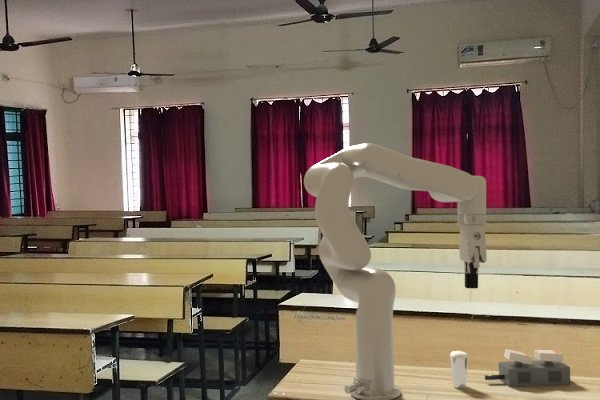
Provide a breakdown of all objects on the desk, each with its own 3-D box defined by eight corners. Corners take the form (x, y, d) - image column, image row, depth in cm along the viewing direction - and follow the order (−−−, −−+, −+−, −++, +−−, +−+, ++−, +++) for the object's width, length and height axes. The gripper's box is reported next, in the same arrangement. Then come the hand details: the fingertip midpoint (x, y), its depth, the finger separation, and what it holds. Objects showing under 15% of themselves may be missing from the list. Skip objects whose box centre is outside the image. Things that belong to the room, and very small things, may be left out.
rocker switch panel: (490, 387, 153) (490, 367, 153) (481, 379, 161) (480, 359, 161) (570, 384, 154) (570, 364, 154) (557, 376, 161) (557, 356, 161)
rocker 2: (539, 360, 156) (540, 352, 156) (534, 357, 159) (534, 349, 159) (562, 361, 156) (562, 353, 156) (556, 358, 160) (556, 350, 160)
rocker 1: (509, 359, 156) (510, 352, 156) (503, 356, 159) (505, 348, 159) (531, 364, 156) (532, 356, 156) (525, 360, 159) (527, 353, 159)
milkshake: (472, 389, 152) (471, 350, 152) (450, 388, 153) (449, 349, 153) (471, 384, 157) (470, 346, 157) (450, 383, 158) (449, 345, 158)
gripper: (494, 221, 157) (494, 291, 157) (477, 220, 172) (476, 284, 172) (465, 221, 157) (465, 291, 157) (450, 220, 172) (450, 284, 172)
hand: (471, 287), depth 164 cm, fingers closed
